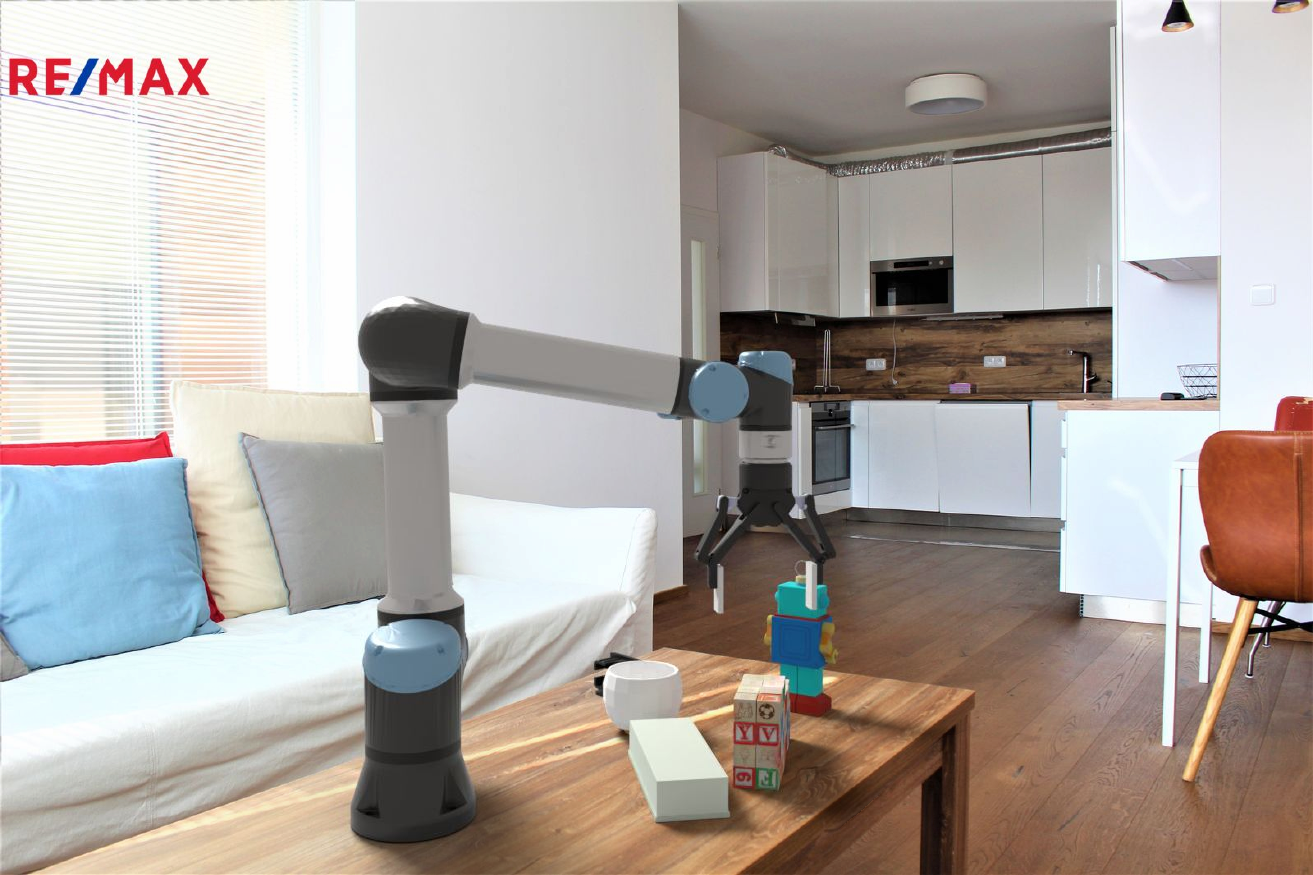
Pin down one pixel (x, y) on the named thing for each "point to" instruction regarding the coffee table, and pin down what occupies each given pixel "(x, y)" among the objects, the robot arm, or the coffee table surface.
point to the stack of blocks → (760, 731)
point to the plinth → (677, 770)
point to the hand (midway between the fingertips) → (765, 610)
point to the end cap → (606, 664)
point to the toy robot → (802, 645)
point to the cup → (641, 692)
